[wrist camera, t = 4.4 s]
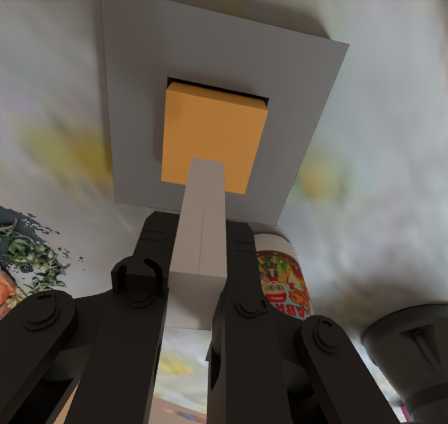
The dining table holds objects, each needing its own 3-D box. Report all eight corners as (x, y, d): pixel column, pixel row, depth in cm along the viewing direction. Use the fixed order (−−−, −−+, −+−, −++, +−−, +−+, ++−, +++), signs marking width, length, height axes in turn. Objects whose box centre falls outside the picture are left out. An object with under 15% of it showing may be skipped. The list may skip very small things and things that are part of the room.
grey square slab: (332, 40, 17) (349, 44, 15) (270, 206, 26) (275, 225, 23) (118, -12, 16) (99, -17, 13) (125, 183, 24) (114, 202, 22)
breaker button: (263, 100, 17) (268, 110, 15) (242, 177, 21) (244, 194, 19) (172, 81, 17) (166, 89, 15) (167, 164, 20) (161, 181, 18)
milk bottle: (297, 271, 32) (375, 531, 16) (236, 282, 33) (250, 534, 17) (290, 224, 27) (389, 521, 11) (219, 238, 28) (216, 526, 12)
